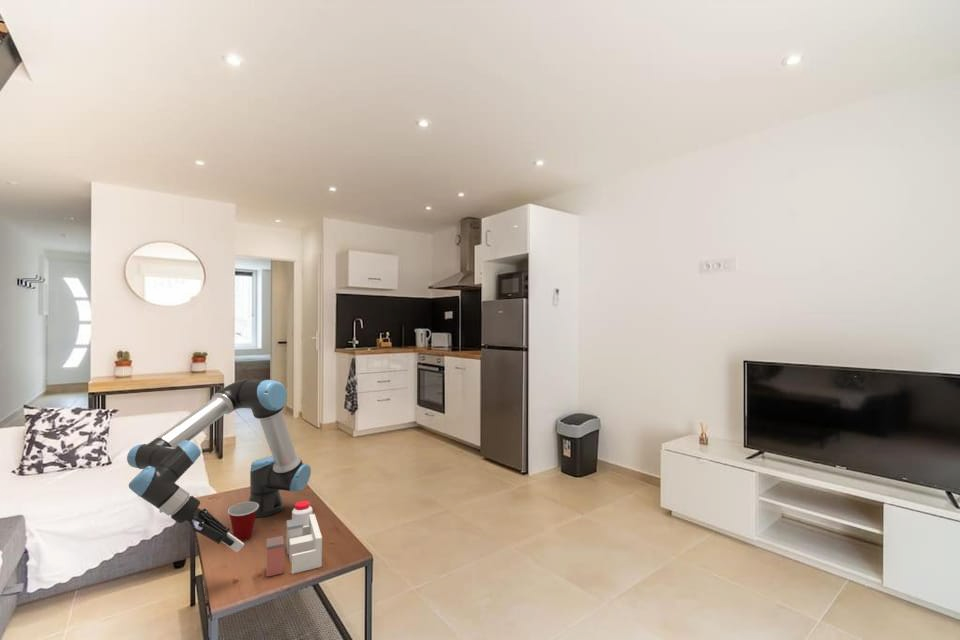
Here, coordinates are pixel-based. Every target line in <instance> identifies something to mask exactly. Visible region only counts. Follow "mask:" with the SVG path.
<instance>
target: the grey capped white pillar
mask: <svg viewBox="0 0 960 640" xmlns="http://www.w3.org/2000/svg"><path fill="white" fill-rule="evenodd" d="M300 536H303V522H302V518H297V519H292V518H291V519H288V520H286V543H285V544H286V545H285V546H286V553H287V555H289V539H290V538H295V537H300Z"/></svg>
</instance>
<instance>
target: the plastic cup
mask: <svg viewBox="0 0 960 640" xmlns="http://www.w3.org/2000/svg"><path fill="white" fill-rule="evenodd" d="M258 507H259V504H258V503H256V502H250V501H249V502H248V501H243V502H238V503H235V504H233V505H231V506H230V507H229V508H228V509H227V513H228V515H229V518H230V521H231V522H230V523H231V529H232V532H233V536H234V537H236V538H237V539H239V540H240V541H241V542H244V541H247V540H249V539H251V538H252V535H253V531H254V528H255V527H254V526H255V521H256V517H255V516H256V512H257V509H258Z"/></svg>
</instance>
